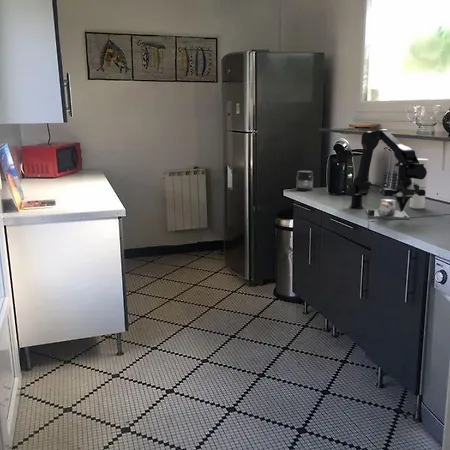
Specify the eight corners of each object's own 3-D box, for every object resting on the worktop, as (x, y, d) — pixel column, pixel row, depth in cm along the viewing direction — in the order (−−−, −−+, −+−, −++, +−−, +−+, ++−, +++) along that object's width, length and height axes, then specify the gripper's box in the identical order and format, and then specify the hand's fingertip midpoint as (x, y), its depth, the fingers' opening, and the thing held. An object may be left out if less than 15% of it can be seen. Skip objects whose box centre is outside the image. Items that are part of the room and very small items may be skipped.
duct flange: (365, 211, 244) (365, 204, 243) (403, 212, 241) (404, 205, 240) (368, 218, 229) (368, 210, 228) (409, 219, 225) (410, 212, 225)
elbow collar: (380, 210, 239) (381, 198, 238) (395, 212, 236) (396, 199, 234) (374, 217, 225) (375, 203, 223) (390, 218, 222) (391, 204, 220)
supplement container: (305, 188, 317) (305, 170, 314) (316, 190, 308) (317, 171, 305) (292, 189, 311) (293, 171, 309) (303, 192, 303) (304, 172, 300)
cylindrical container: (413, 205, 259) (417, 158, 254) (426, 207, 254) (431, 159, 249) (407, 207, 254) (411, 159, 249) (420, 209, 249) (424, 160, 244)
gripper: (389, 179, 213) (387, 214, 217) (432, 179, 214) (429, 214, 217) (381, 176, 224) (379, 209, 228) (421, 176, 225) (419, 209, 228)
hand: (401, 210), depth 225 cm, fingers closed
